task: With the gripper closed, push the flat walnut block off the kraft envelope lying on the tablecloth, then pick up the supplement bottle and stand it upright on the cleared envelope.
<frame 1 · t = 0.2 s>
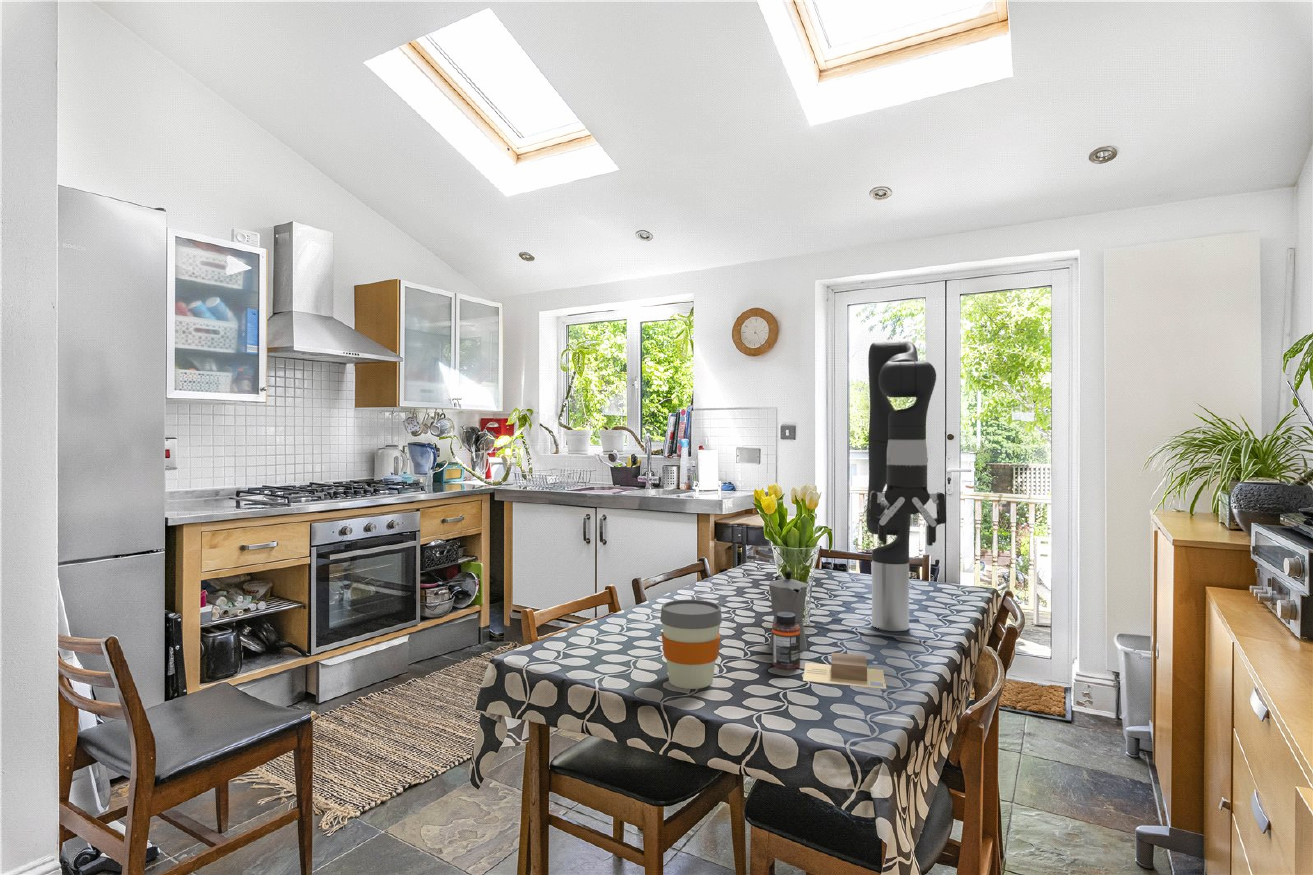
hand: (906, 544, 130), 28 cm above the table, fingers open, 8 cm apart
supplement bottle: (786, 667, 142), on the table
coffeepot: (786, 647, 156), on the table
block: (848, 673, 137), resting on letter
letter: (843, 676, 136), on the table
reusable coffee cup: (690, 681, 134), on the table
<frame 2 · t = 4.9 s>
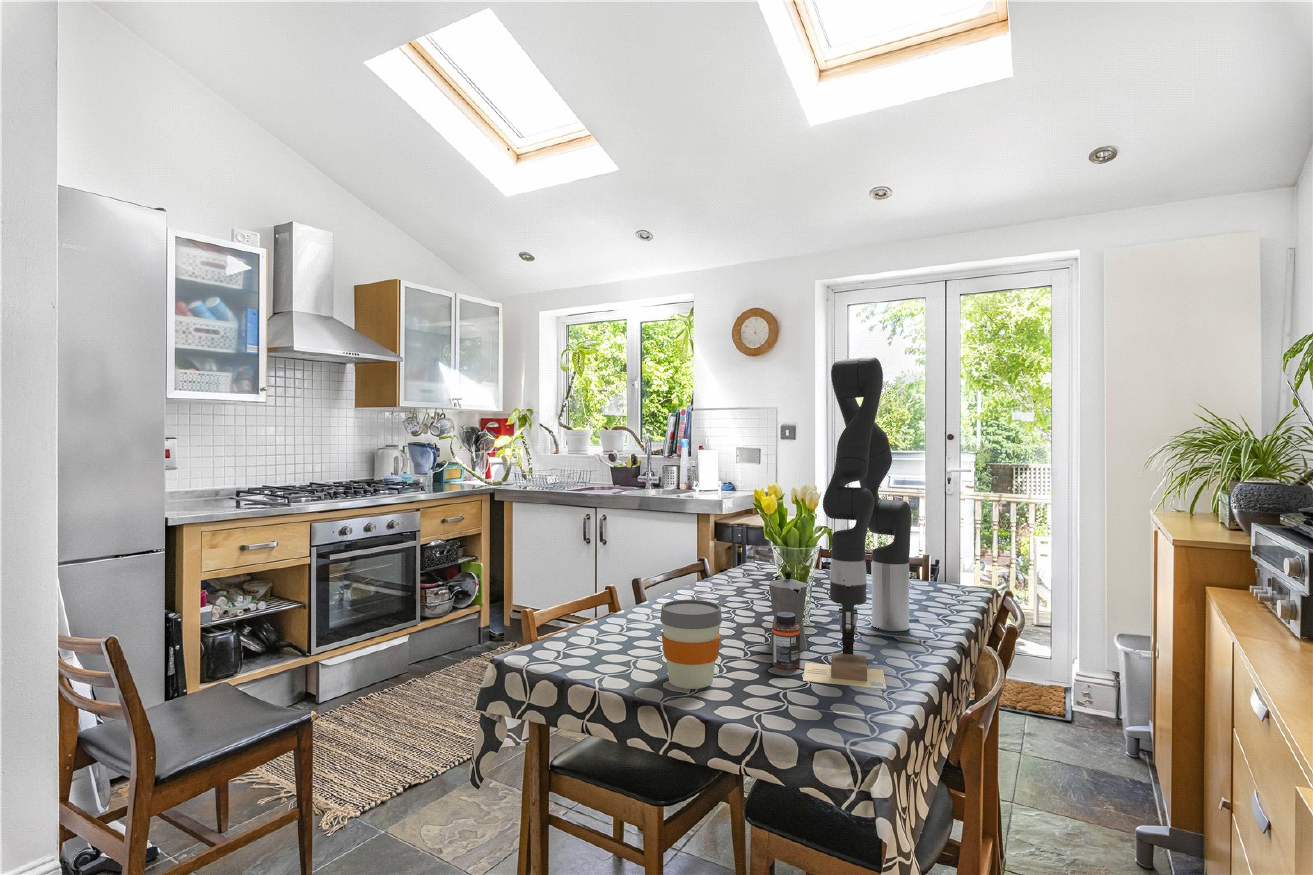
hand: (847, 659, 142), 2 cm above the table, fingers closed
block: (848, 673, 137), resting on letter, touching gripper
everything else where it was.
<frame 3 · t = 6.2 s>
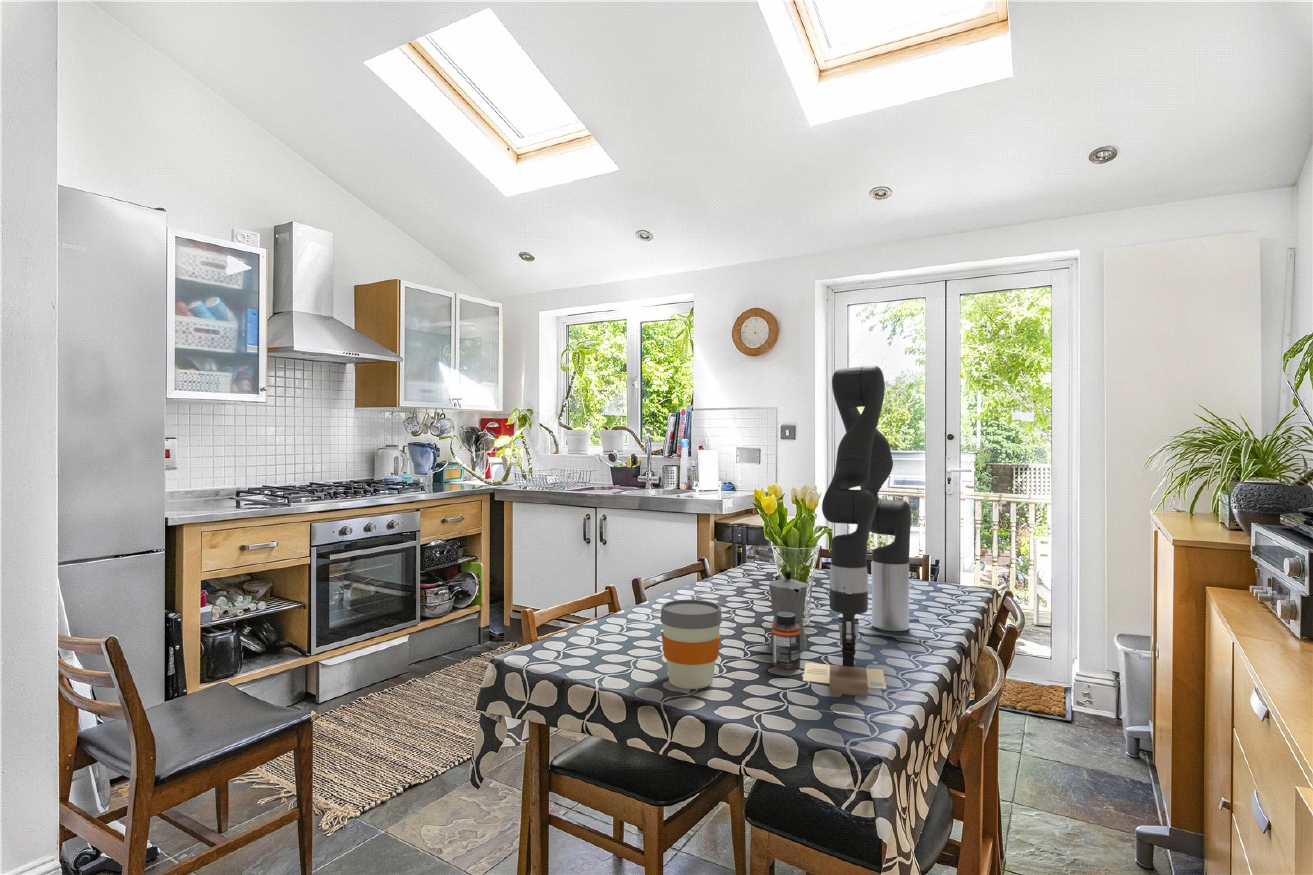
hand: (848, 672, 134), 2 cm above the table, fingers closed
block: (848, 688, 129), on the table, touching gripper
everything else where it was.
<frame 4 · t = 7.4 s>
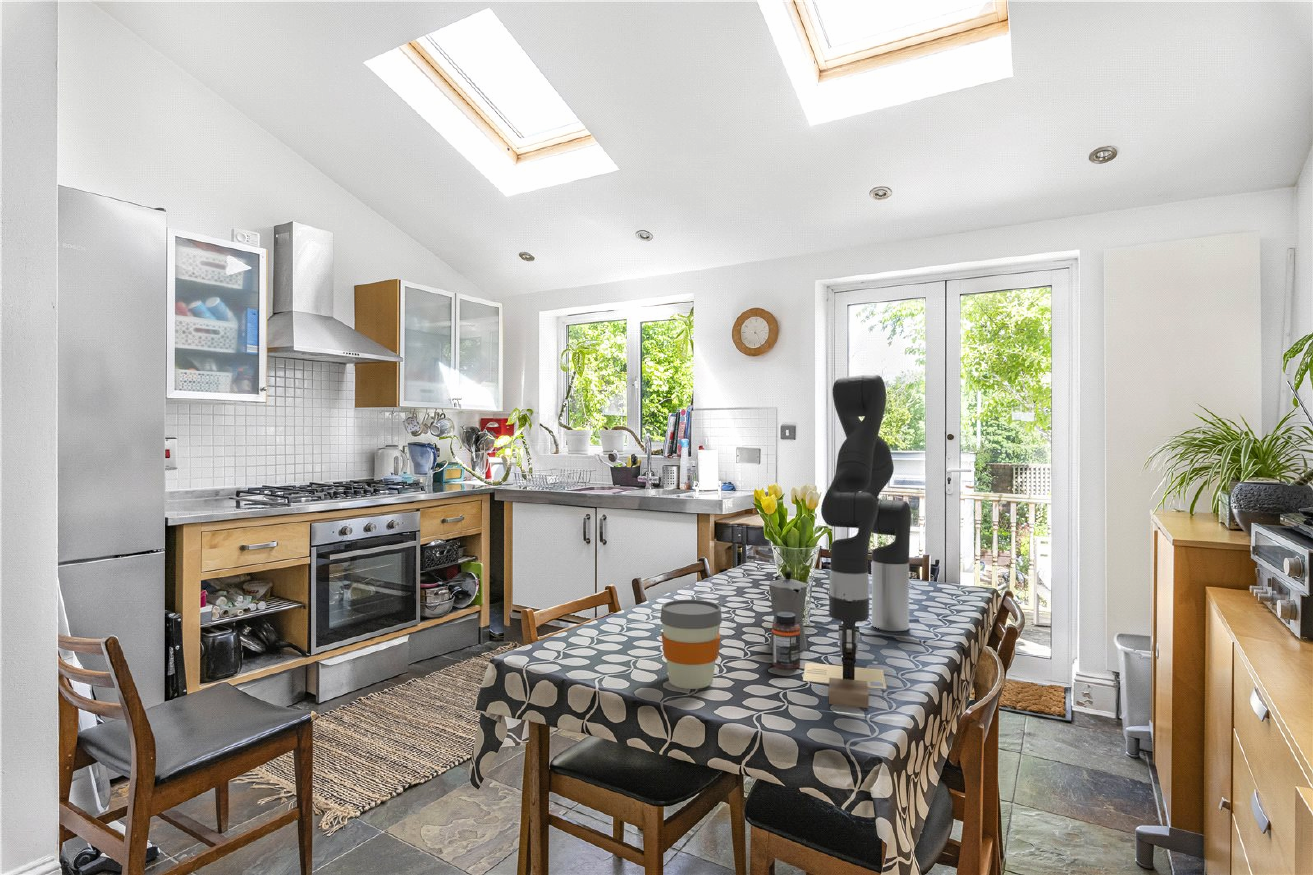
hand: (848, 682, 129), 2 cm above the table, fingers closed
block: (848, 701, 124), on the table
everything else where it was.
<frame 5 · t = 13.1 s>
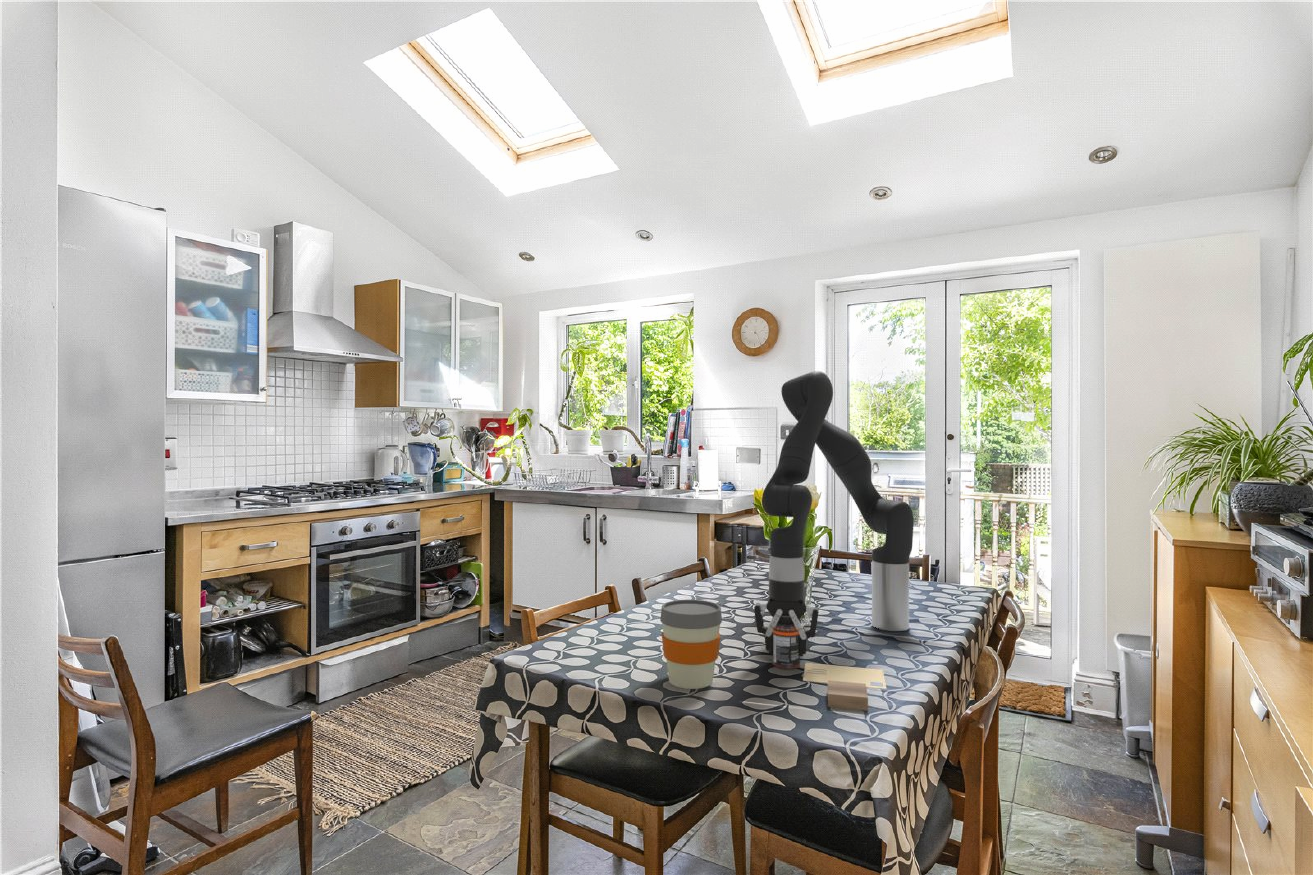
hand: (786, 653, 142), 3 cm above the table, fingers closed on supplement bottle, 6 cm apart
supplement bottle: (786, 667, 142), on the table, touching gripper
block: (847, 704, 123), on the table
everything else where it was.
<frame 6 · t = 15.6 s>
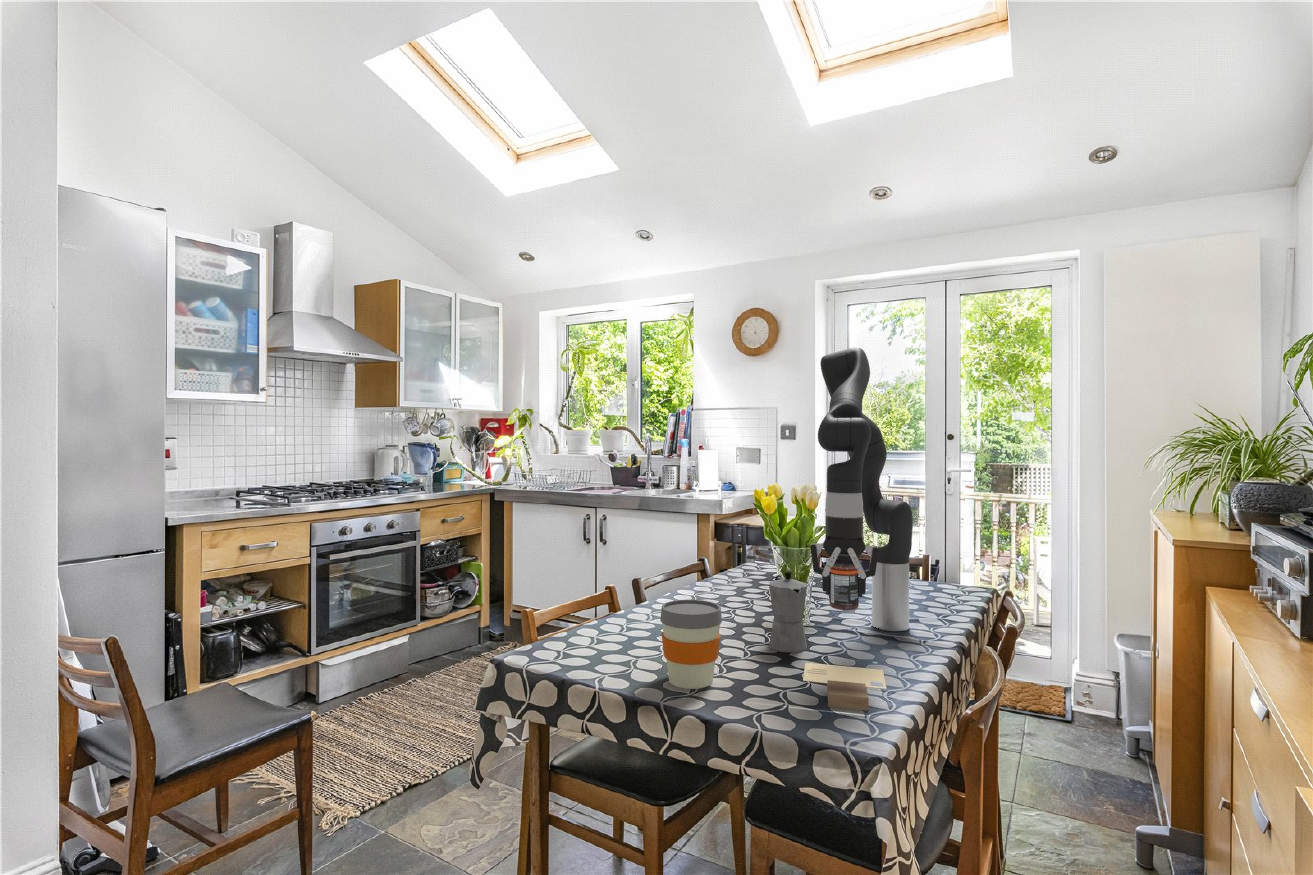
hand: (843, 594, 136), 17 cm above the table, fingers closed on supplement bottle, 6 cm apart
supplement bottle: (843, 608, 136), point 14 cm above the table, touching gripper
everything else where it was.
when the fingers open (4 cm above the table, at t = 18.4 s): supplement bottle stays where it is, resting on letter.
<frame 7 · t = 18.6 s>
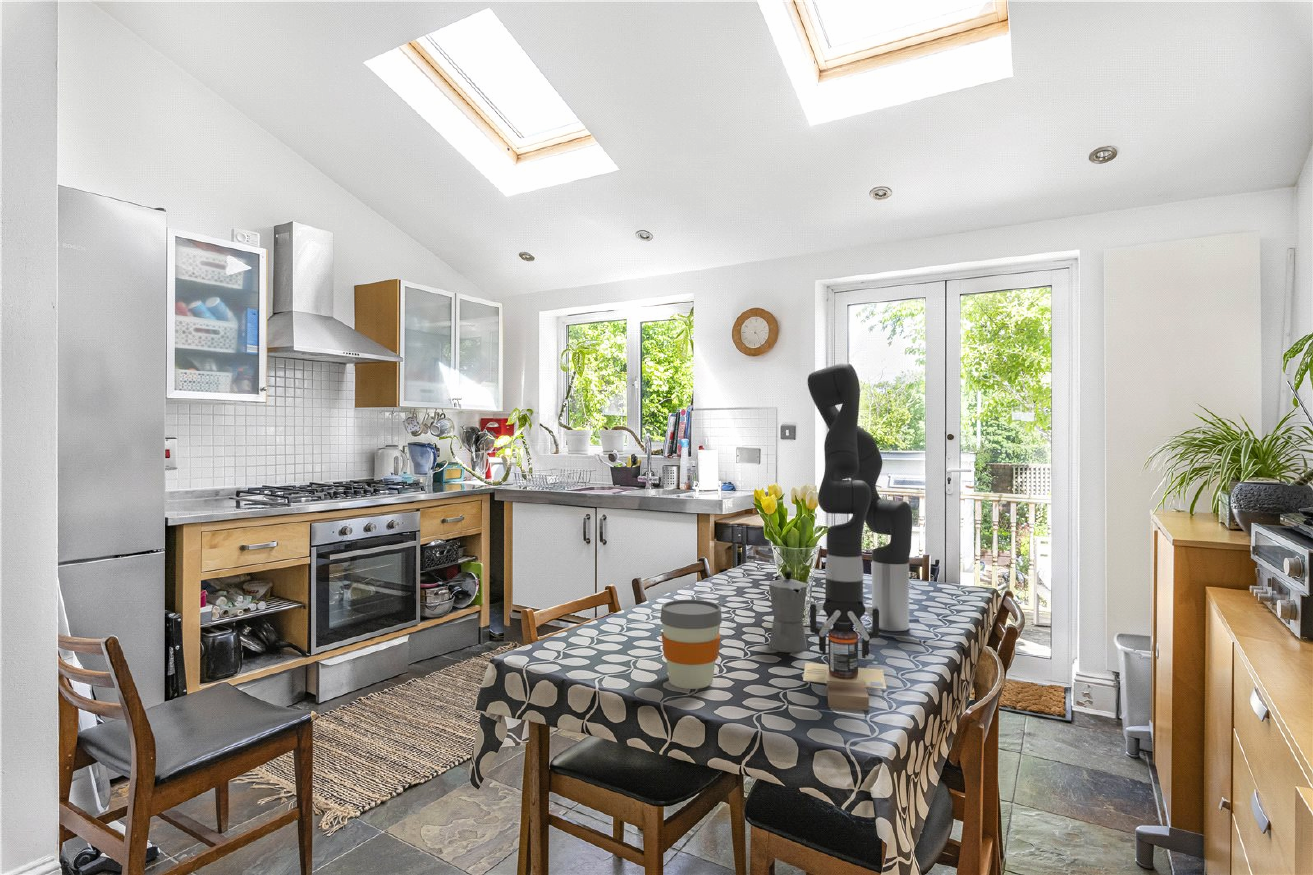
hand: (843, 655, 136), 4 cm above the table, fingers open, 7 cm apart
supplement bottle: (843, 675, 136), resting on letter
everything else where it was.
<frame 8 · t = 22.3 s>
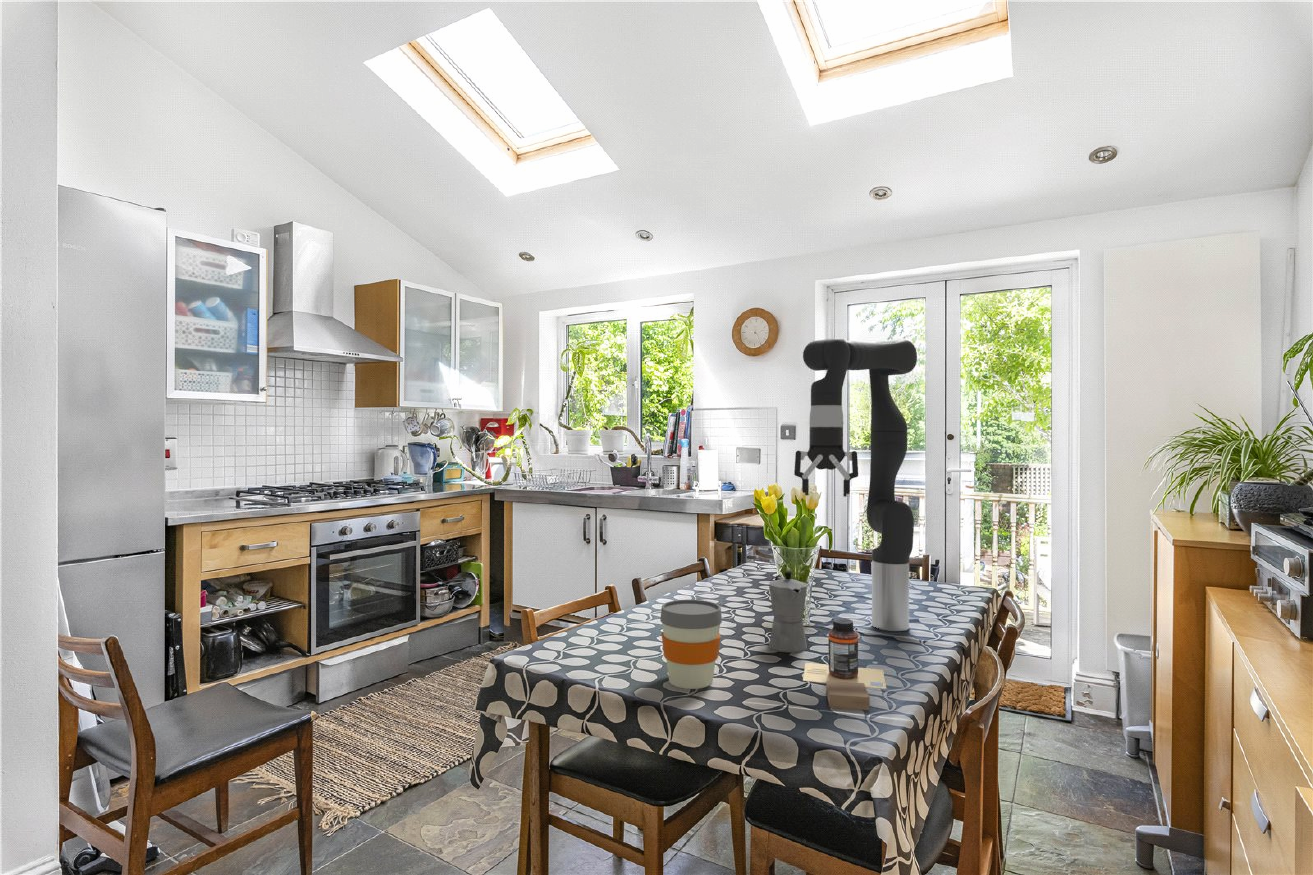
hand: (825, 495, 152), 36 cm above the table, fingers open, 8 cm apart
nothing on the table moved.
at the end: supplement bottle inside the target area on the letter (0.1 cm from its centre), point 0.1 cm above the letter's base; supplement bottle tilted 0°; block inside the target area (9.7 cm from its centre), on the table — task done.
